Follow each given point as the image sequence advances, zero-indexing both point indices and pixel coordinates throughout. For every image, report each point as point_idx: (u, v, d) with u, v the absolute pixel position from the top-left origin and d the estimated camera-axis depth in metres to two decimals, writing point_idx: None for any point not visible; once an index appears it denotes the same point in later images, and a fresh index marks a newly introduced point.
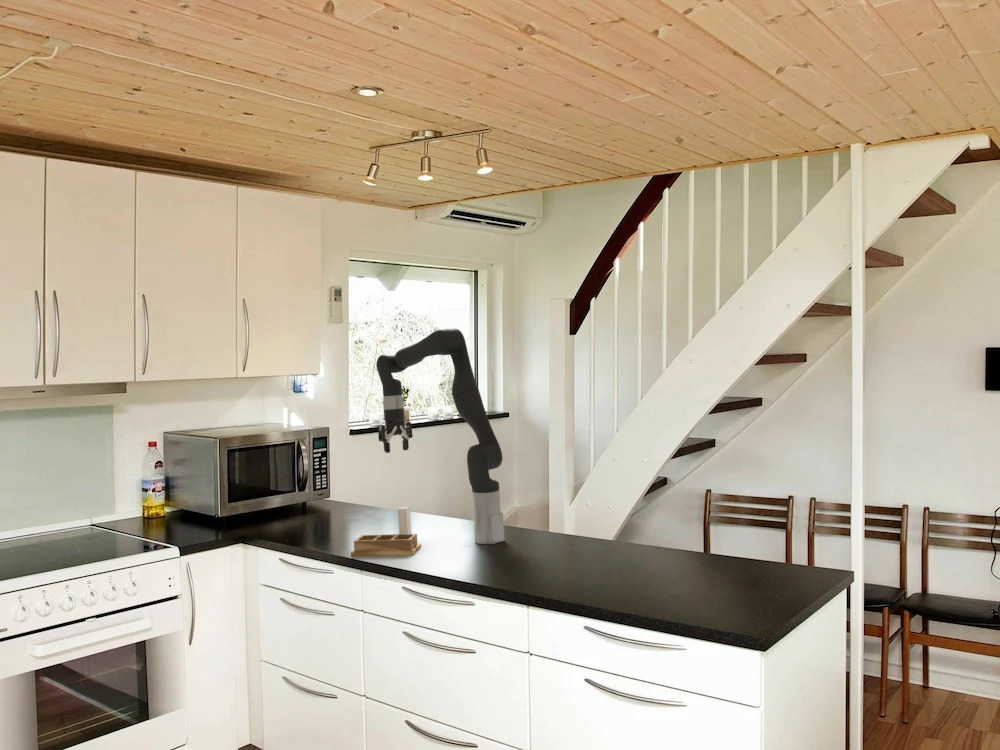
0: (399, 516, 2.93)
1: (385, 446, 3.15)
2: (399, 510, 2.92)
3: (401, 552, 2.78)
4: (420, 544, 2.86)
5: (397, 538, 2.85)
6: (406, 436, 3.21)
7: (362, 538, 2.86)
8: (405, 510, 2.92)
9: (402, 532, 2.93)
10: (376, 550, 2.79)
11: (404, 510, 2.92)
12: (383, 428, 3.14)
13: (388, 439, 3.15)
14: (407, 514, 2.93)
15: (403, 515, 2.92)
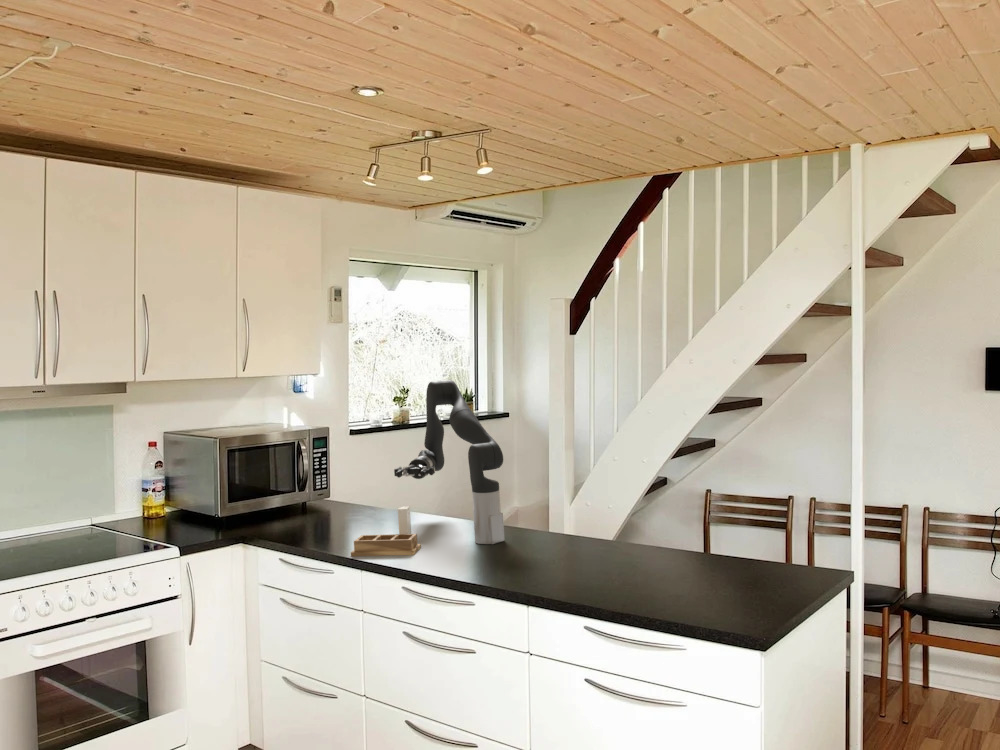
0: (399, 516, 2.93)
1: None
2: (399, 510, 2.92)
3: (401, 552, 2.78)
4: (420, 544, 2.86)
5: (397, 538, 2.85)
6: (424, 468, 3.09)
7: (362, 538, 2.86)
8: (405, 510, 2.92)
9: (402, 532, 2.93)
10: (376, 550, 2.79)
11: (404, 510, 2.92)
12: (399, 467, 3.15)
13: (401, 469, 3.11)
14: (407, 514, 2.93)
15: (403, 515, 2.92)
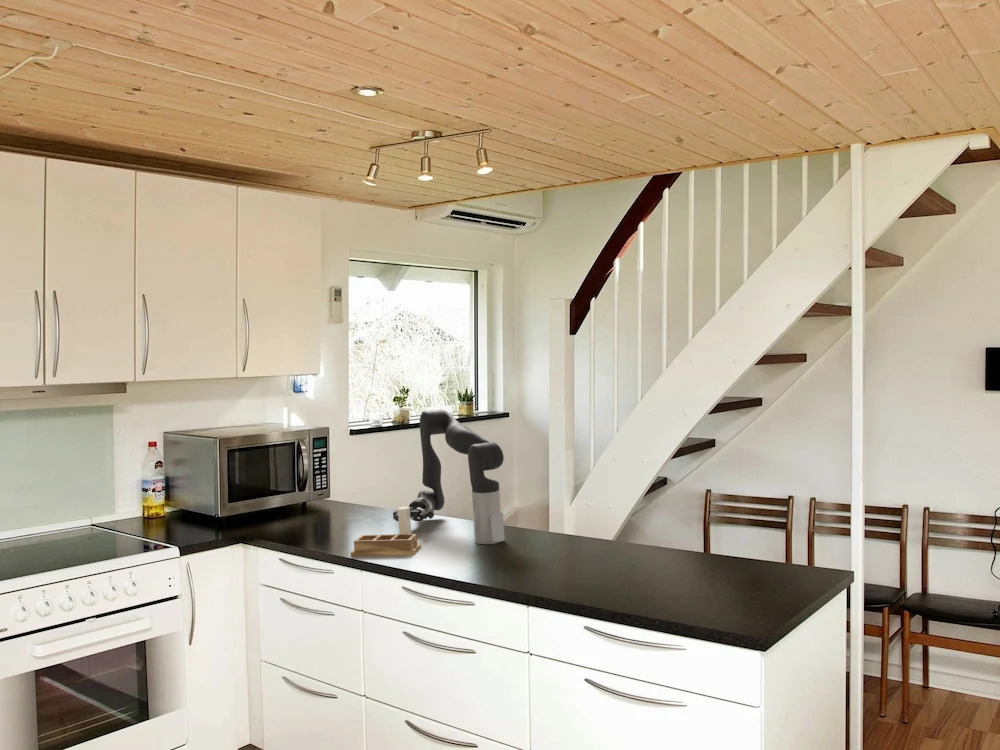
0: (399, 516, 2.93)
1: None
2: (399, 510, 2.92)
3: (401, 552, 2.78)
4: (420, 544, 2.86)
5: (397, 538, 2.85)
6: (423, 511, 3.05)
7: (362, 538, 2.86)
8: (405, 510, 2.92)
9: (402, 532, 2.93)
10: (376, 550, 2.79)
11: (404, 510, 2.92)
12: None
13: None
14: (407, 514, 2.93)
15: (403, 515, 2.92)
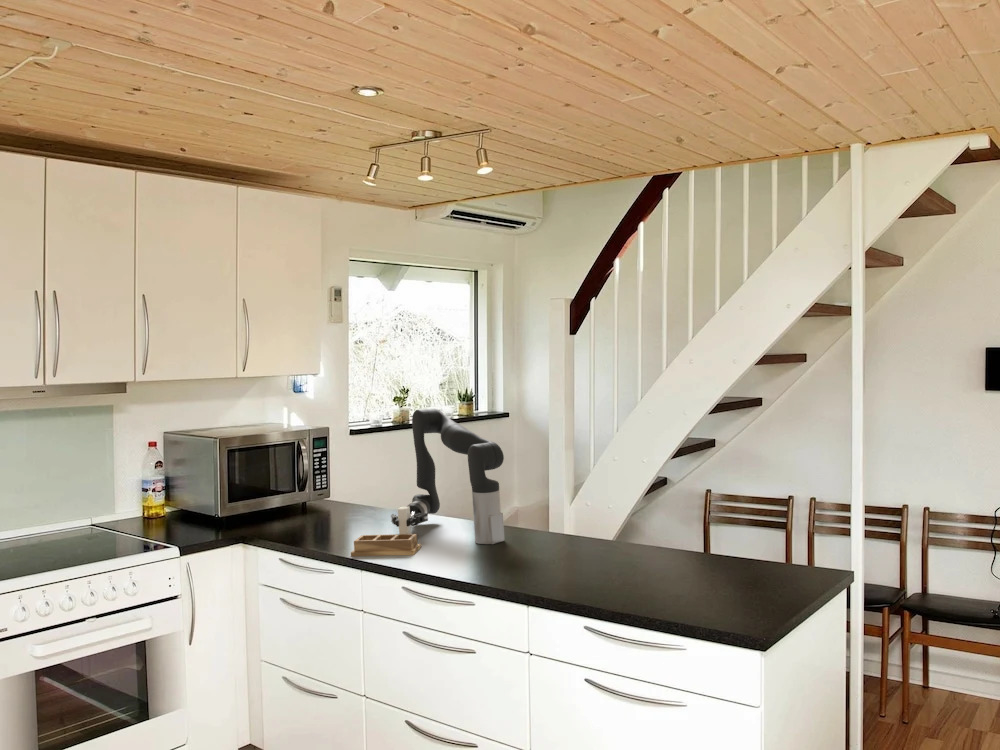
0: (399, 516, 2.93)
1: None
2: (399, 510, 2.92)
3: (401, 552, 2.78)
4: (420, 544, 2.86)
5: (397, 538, 2.85)
6: (410, 516, 2.97)
7: (362, 538, 2.86)
8: (405, 510, 2.92)
9: (402, 532, 2.93)
10: (376, 550, 2.79)
11: (404, 510, 2.92)
12: (392, 515, 3.01)
13: None
14: (407, 514, 2.93)
15: (403, 515, 2.92)
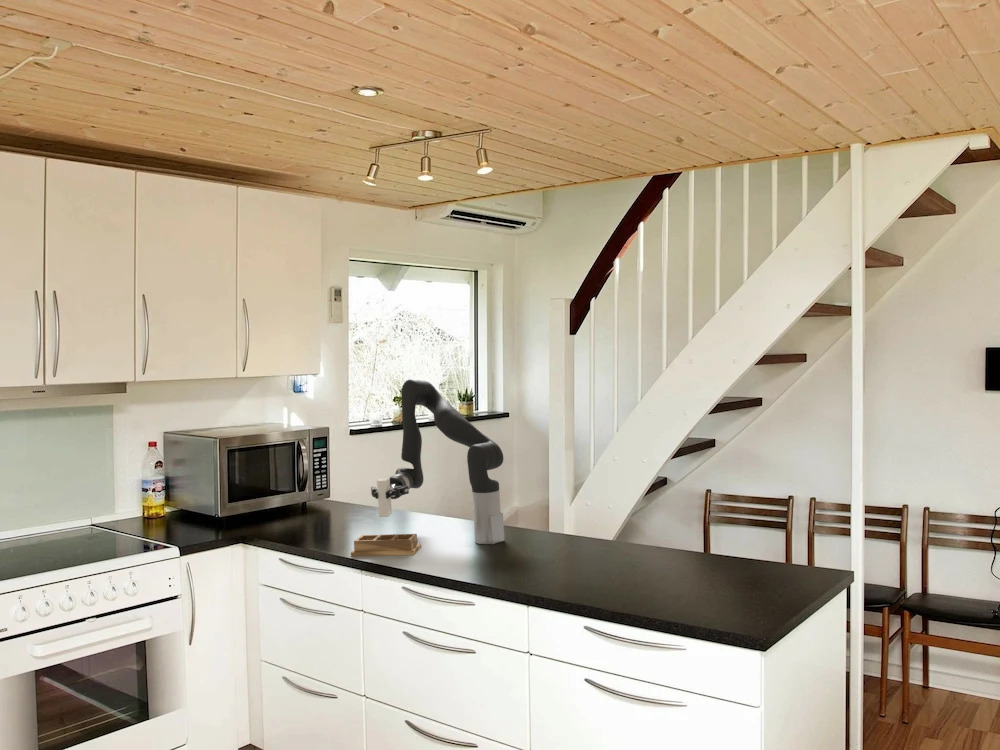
0: (378, 488, 2.82)
1: None
2: (378, 482, 2.82)
3: (401, 552, 2.78)
4: (420, 544, 2.86)
5: (397, 538, 2.85)
6: (390, 488, 2.86)
7: (362, 538, 2.86)
8: (384, 482, 2.81)
9: (381, 504, 2.82)
10: (376, 550, 2.79)
11: (383, 482, 2.81)
12: (372, 487, 2.91)
13: None
14: (387, 486, 2.82)
15: (382, 487, 2.82)
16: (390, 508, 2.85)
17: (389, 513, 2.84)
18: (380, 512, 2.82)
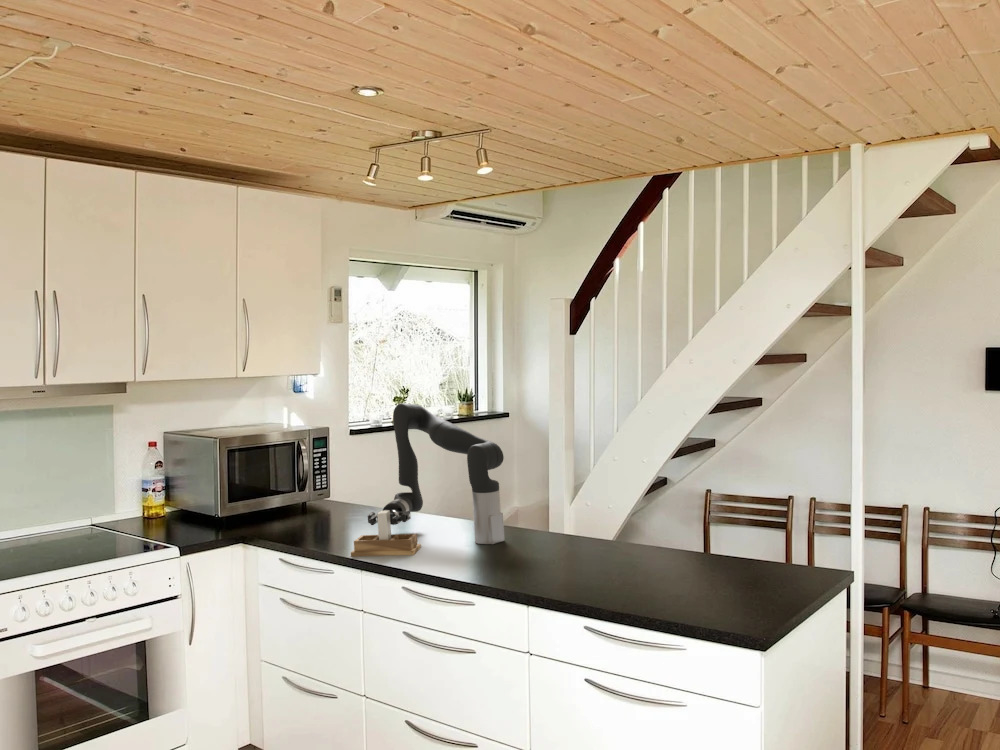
0: (379, 521, 2.81)
1: None
2: (379, 514, 2.81)
3: (401, 552, 2.78)
4: (420, 544, 2.86)
5: (397, 538, 2.85)
6: (396, 514, 2.85)
7: (362, 538, 2.86)
8: (385, 514, 2.81)
9: (382, 537, 2.81)
10: (376, 550, 2.79)
11: (384, 514, 2.81)
12: (371, 512, 2.91)
13: (375, 515, 2.86)
14: (387, 518, 2.82)
15: (383, 519, 2.81)
16: None
17: None
18: None
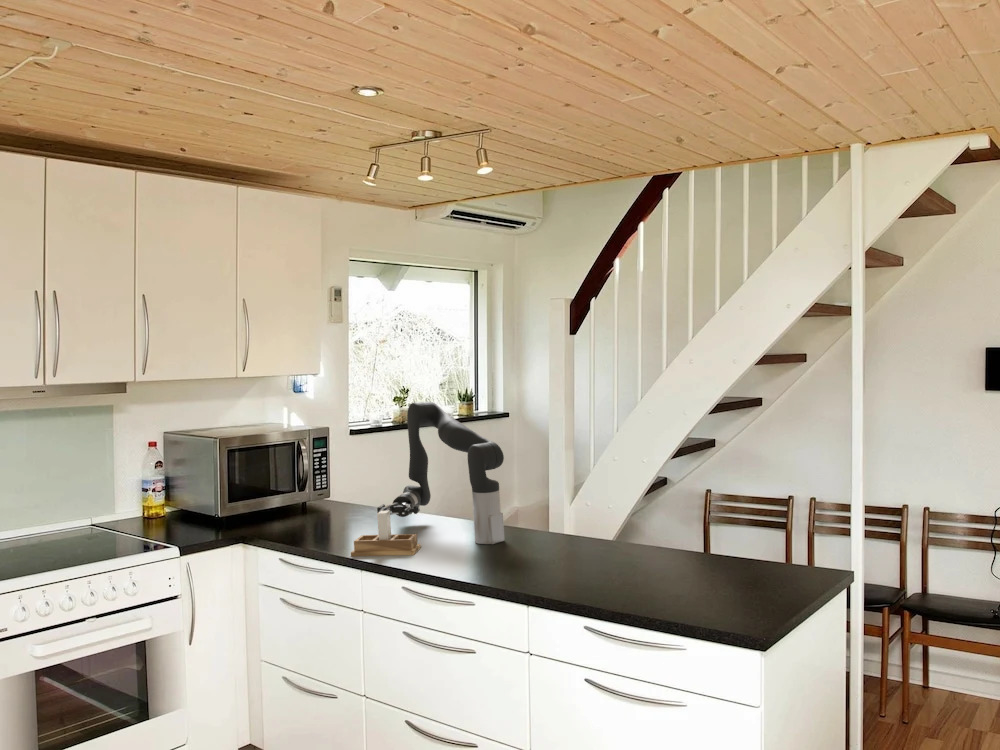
0: (379, 521, 2.81)
1: None
2: (379, 514, 2.81)
3: (401, 552, 2.78)
4: (420, 544, 2.86)
5: (397, 538, 2.85)
6: (408, 506, 2.98)
7: (362, 538, 2.86)
8: (385, 514, 2.81)
9: (382, 537, 2.81)
10: (376, 550, 2.79)
11: (384, 514, 2.81)
12: (382, 505, 3.04)
13: (384, 507, 2.99)
14: (387, 518, 2.82)
15: (383, 519, 2.81)
16: None
17: None
18: None
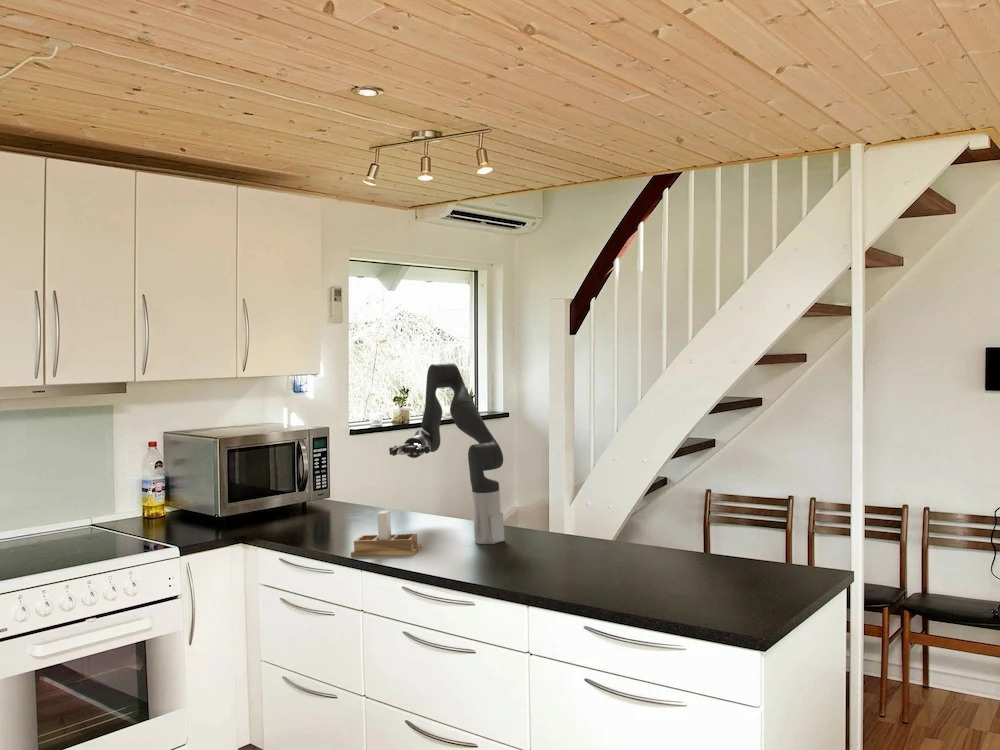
0: (379, 521, 2.81)
1: None
2: (379, 514, 2.81)
3: (401, 552, 2.78)
4: (420, 544, 2.86)
5: (397, 538, 2.85)
6: (419, 446, 3.06)
7: (362, 538, 2.86)
8: (385, 514, 2.81)
9: (382, 537, 2.81)
10: (376, 550, 2.79)
11: (384, 514, 2.81)
12: (394, 446, 3.12)
13: (396, 447, 3.07)
14: (387, 518, 2.82)
15: (383, 519, 2.81)
16: None
17: None
18: None
